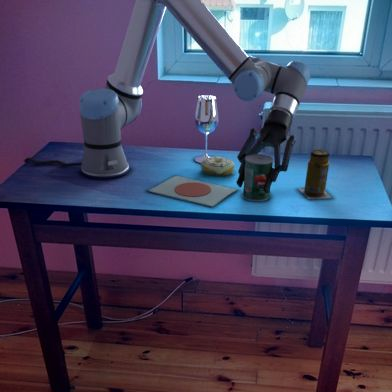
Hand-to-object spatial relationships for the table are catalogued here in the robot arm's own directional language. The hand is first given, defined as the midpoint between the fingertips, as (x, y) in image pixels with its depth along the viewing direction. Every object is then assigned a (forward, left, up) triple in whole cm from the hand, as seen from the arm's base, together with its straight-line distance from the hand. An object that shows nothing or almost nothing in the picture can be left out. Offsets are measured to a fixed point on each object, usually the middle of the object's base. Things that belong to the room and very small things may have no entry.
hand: (251, 187), depth 153 cm
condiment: (+14, +14, -4) cm, 20 cm away
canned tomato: (0, +3, -4) cm, 5 cm away
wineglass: (-29, +23, -4) cm, 37 cm away
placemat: (-18, -3, -4) cm, 19 cm away
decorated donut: (-20, +15, -4) cm, 26 cm away
